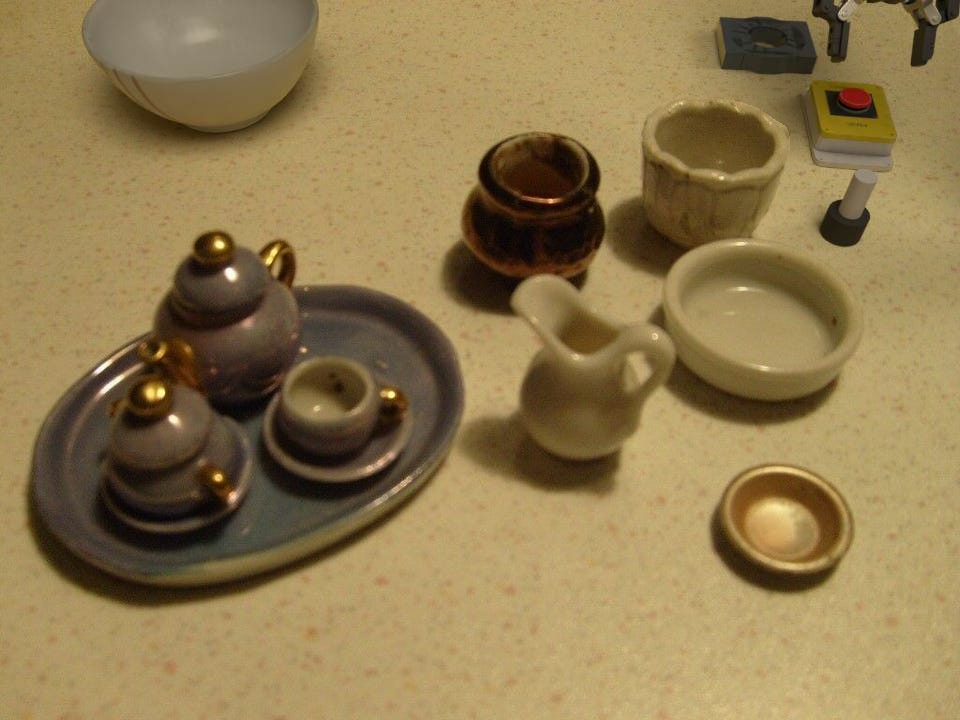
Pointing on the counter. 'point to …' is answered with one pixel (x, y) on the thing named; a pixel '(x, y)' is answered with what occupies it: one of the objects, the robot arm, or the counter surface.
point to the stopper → (850, 211)
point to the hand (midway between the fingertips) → (878, 63)
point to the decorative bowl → (203, 55)
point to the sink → (743, 54)
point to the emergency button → (849, 125)
